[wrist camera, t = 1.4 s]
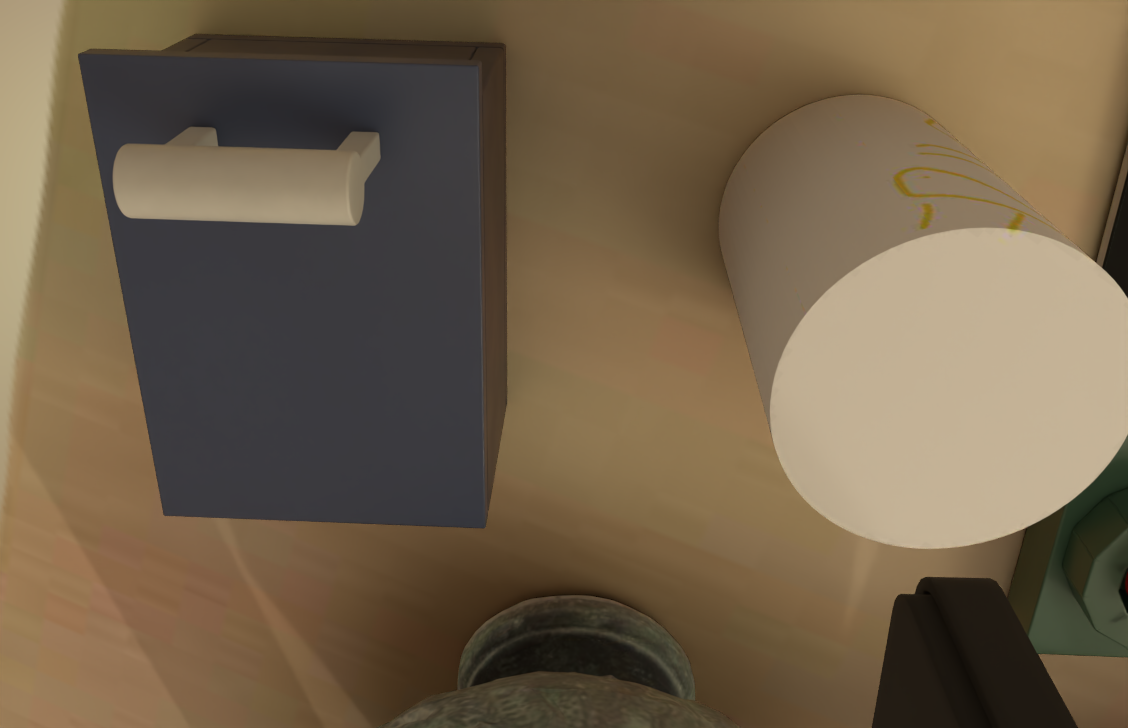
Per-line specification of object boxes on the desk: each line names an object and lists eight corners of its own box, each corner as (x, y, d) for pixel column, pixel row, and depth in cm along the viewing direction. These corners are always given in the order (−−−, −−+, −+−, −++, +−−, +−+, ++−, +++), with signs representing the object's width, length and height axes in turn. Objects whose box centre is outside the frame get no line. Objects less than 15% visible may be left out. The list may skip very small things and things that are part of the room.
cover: (89, 48, 25) (-18, 93, 21) (481, 59, 25) (456, 108, 21) (172, 502, 32) (101, 610, 27) (487, 515, 31) (469, 626, 27)
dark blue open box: (192, 33, 32) (96, 80, 26) (506, 42, 32) (482, 92, 26) (241, 394, 38) (172, 501, 32) (507, 403, 37) (488, 514, 31)
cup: (1021, 233, 34) (1212, 420, 23) (813, 376, 36) (899, 602, 26) (880, 38, 31) (1023, 147, 21) (667, 207, 34) (696, 381, 23)
